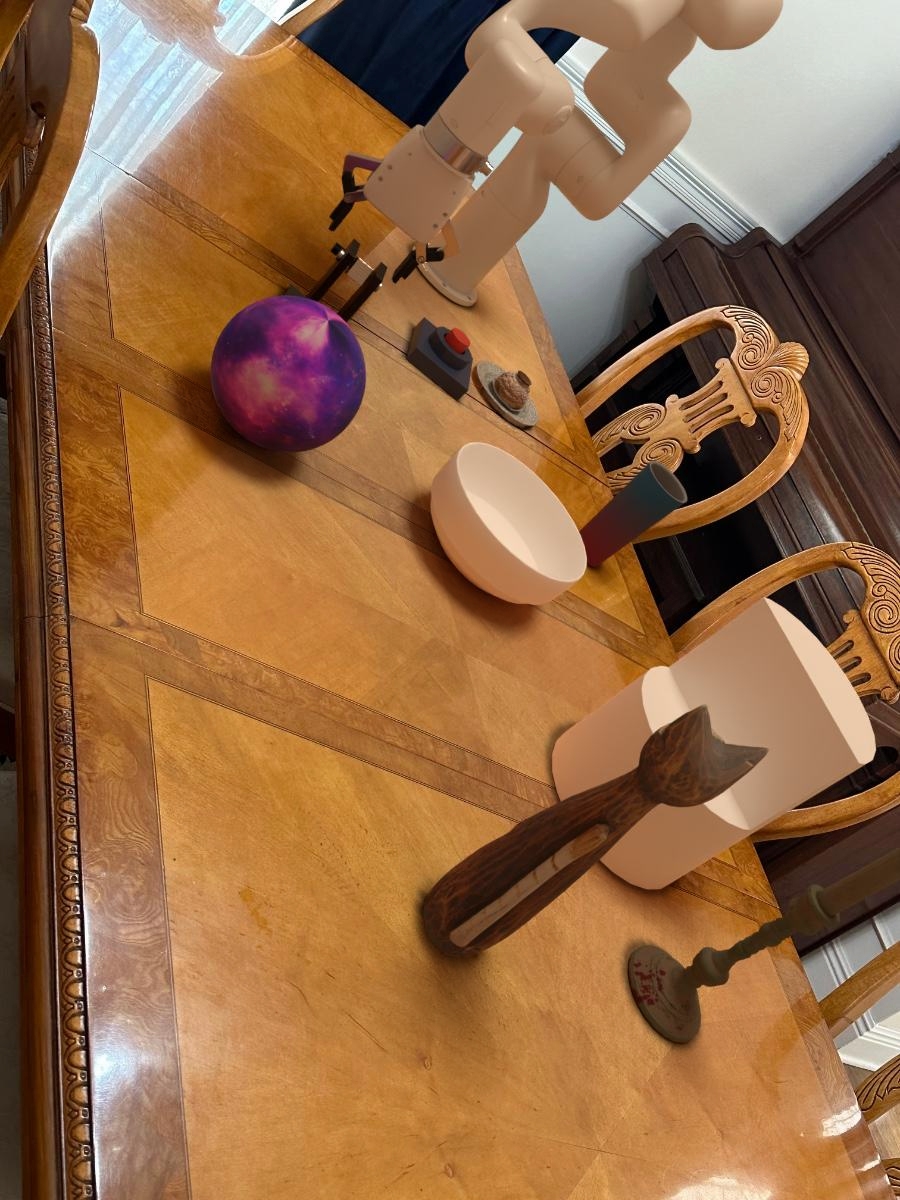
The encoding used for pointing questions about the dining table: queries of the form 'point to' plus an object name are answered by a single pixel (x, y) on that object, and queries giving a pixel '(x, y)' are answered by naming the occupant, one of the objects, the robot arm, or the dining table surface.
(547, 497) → the bowl
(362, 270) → the lever
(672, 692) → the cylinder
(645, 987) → the candlestick holder
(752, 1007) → the dining table surface
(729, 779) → the sculpture
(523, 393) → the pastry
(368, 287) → the bracket
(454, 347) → the button
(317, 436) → the decorative orb
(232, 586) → the dining table surface
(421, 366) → the button box
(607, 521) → the cup
